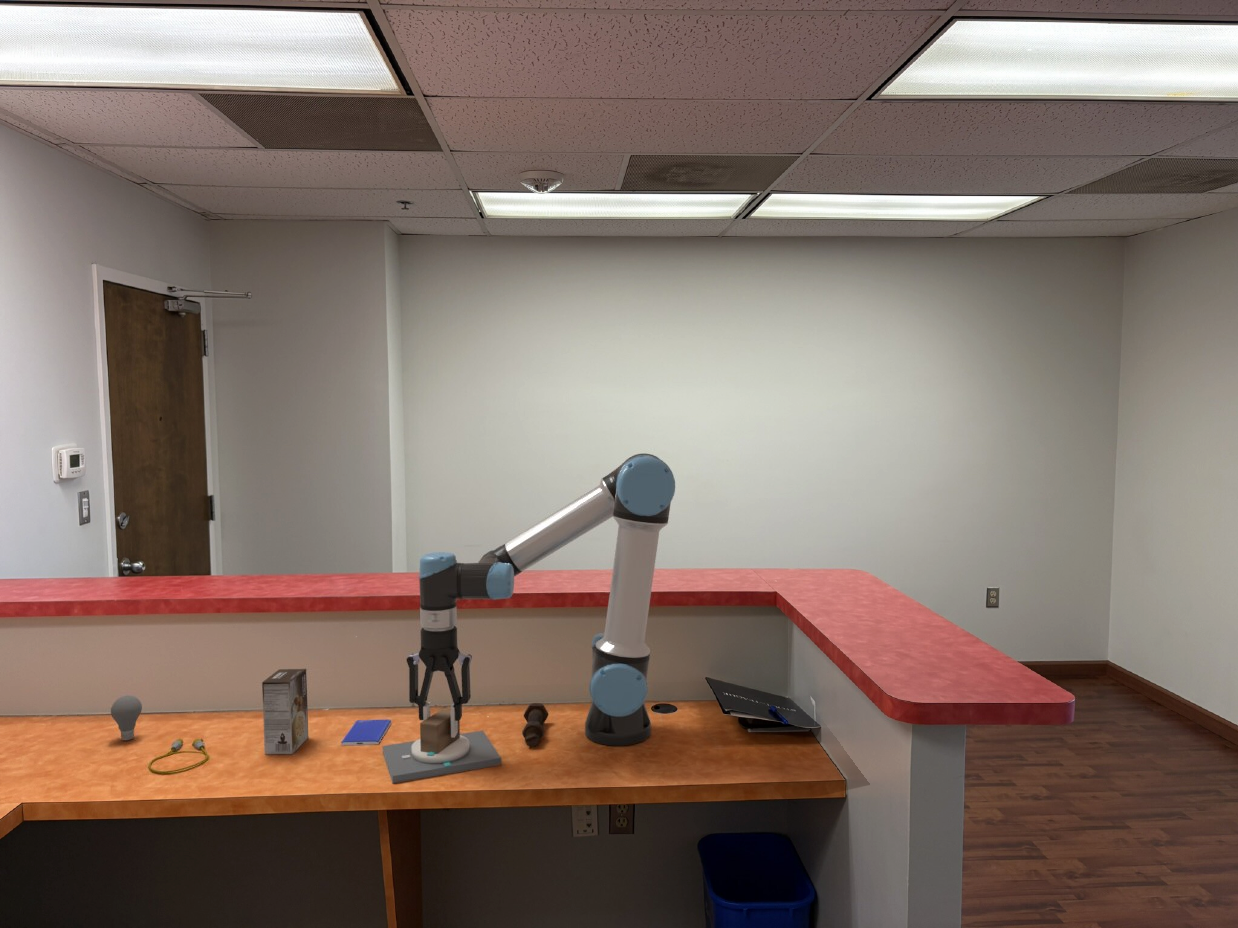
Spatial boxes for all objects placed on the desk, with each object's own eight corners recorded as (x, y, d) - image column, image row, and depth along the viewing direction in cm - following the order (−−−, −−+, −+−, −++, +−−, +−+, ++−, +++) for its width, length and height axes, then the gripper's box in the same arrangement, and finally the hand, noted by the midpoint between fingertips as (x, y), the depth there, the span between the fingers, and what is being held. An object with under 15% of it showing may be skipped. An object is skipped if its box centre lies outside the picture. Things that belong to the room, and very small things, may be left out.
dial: (425, 738, 180) (424, 705, 180) (477, 741, 178) (476, 708, 178) (402, 761, 168) (401, 725, 168) (457, 765, 167) (457, 729, 166)
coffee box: (280, 737, 185) (278, 668, 184) (309, 737, 185) (307, 668, 184) (263, 754, 176) (261, 681, 175) (293, 754, 176) (291, 681, 175)
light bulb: (105, 742, 182) (103, 698, 182) (129, 732, 188) (127, 690, 187) (125, 746, 180) (124, 701, 180) (149, 736, 186) (147, 693, 185)
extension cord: (231, 746, 181) (231, 738, 181) (185, 778, 166) (185, 768, 165) (180, 744, 183) (180, 735, 183) (130, 775, 167) (129, 765, 167)
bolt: (528, 757, 179) (533, 728, 194) (548, 746, 179) (551, 718, 194) (515, 735, 178) (520, 708, 193) (535, 724, 178) (539, 697, 193)
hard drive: (355, 719, 193) (340, 741, 181) (391, 718, 193) (378, 740, 181) (356, 726, 193) (341, 748, 181) (391, 725, 193) (378, 747, 181)
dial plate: (483, 736, 185) (482, 729, 185) (501, 764, 170) (501, 756, 170) (382, 752, 177) (382, 744, 177) (392, 783, 162) (392, 774, 162)
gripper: (390, 631, 168) (392, 741, 170) (477, 631, 168) (479, 742, 169) (401, 621, 176) (404, 727, 177) (485, 622, 175) (486, 728, 177)
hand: (440, 734), depth 173 cm, fingers closed on dial, 5 cm apart
